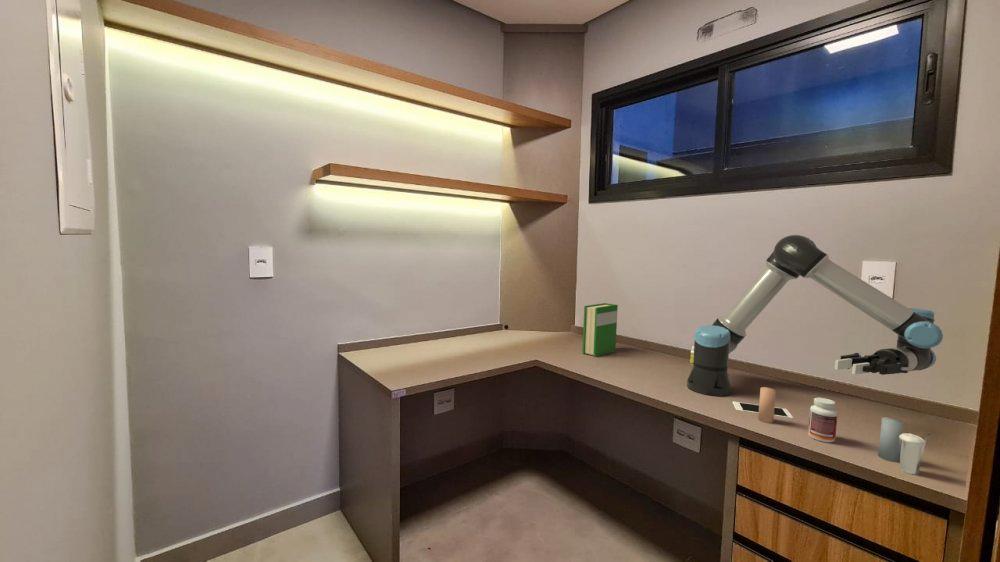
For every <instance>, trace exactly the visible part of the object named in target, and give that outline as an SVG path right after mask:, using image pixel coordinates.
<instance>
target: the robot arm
mask: <svg viewBox="0 0 1000 562" xmlns="http://www.w3.org/2000/svg"><path fill="white" fill-rule="evenodd" d="M765 265H766V266H765V268H763V270H762V272H761V273H760V274H758V276H757V277H756V278H755V280H754V281H752V283H751V284H750V286H749V287H747V289H746V290H745V291H744V292H743V294H742V295H741V296H740V297H739V299H738V300H737V301H736V302H735V303H734V305H733V306H732V307H731V308H730V309H729V311H728V312H726V313H725V315H723V316H718V317H717V318H716V320H715V321H714V322H713V323H712V324H711V325H709V324H708V325H701V326H699V327H697V328H696V329H695V332H694V333H695V334H694V343H693V344H694V345H693V346H694V359H693V366H692V368H691V370H690V372H689V375H688V376H687V380H686V388H688V389H689V390H691V391H693V392H696V393H699V394H703V395H707V396H715V397H724V396H730V395H731V394H732V392H733V391H732V388H733V386H732V383H731V379H730V376H729V372H728V367H729V355H730V354H731V352H733V351H734V350H736V349H737V347H738V345H739V344H740V343H742V341H743V340H744V339H745V337H746V336H747V334H746V330H747V328H748V327H749V326H750V325H751V324H752V323H753V321H754V320H755V319H756V318H758V316H759V315H760V314H761V313H762V312H763V310H765V308H766V307H767V306H768V305H769V304H770V303H771V302H772V300H773V299H774V298H775V297H776V296H777V295H778V294H779V292H780V291H781V290H783V288H784V286H785V285H787V283H788V282H789V281H791V280H797V279H798V278H799V277H800V276H801V277H802V278H804V279H811V280H813V281H815V282H816V283H818V284H819V285H821V286H822V287H824V288H825V289H827V290H829V291H830V292H831V293H833V294H835V295H836V296H838V297H839V298H841V299H843V300H844V301H845V302H847V303H848V304H850V305H852V306H853V307H854V308H857V309H858V310H859V311H861V312H863V313H864V314H866V315H867V316H869V317H870V318H871V319H874V320H875V321H877V322H878V323H880V324H881V325H883V326H884V327H886V328H888V329H889V330H891V331H892V332H893V333H894V334H897V340H896V347H891V348H882V349H879V350H876V351H875V352H874V353H873V354H869V355H864V356H862V354H860V353H858V352H854V353H851V354H845V355H840V359H836V360H835V361H834V370H837V371H838V370H839V371H840V370H850V369H851V368H852V369H851V374H852V375H861V374H867V373H872V374H877V373H879V374H880V375H881V376H884V375H895V374H896V375H897V374H908V373H909V372H914V371H915V372H916V371H922V370H926V369H929V368H931V367H933V366H934V365H935V364H936V361H937V357H936V354H935V352H934V350H932V348H935V347H937V346H939V345H940V343H942V342H943V337H944V335H943V334H944V333H943V331H942V329H941V328H940V327H939V326H938V325H936V324H935V323H934V322H935V312H934V311H933V310H930V309H929V310H928V309H924V308H912V307H911V308H910V307H907V306H905V305H904V304H902V303H900V302H899V301H897V300H896V299H894V298H892V297H891V296H889V295H887V294H886V293H884V292H883V291H881V290H880V289H878V288H876V287H874V286H873V285H871V284H870V283H868V282H867V281H865V280H863V279H861V278H859V277H858V276H856V275H855V274H853V273H851V272H850V271H848V270H846V269H845V268H844V267H842V266H840V265H839V264H837V263H835V262H834V261H832V260H830V259H829V255H828V253H826V252H824V251H823V250H821V249H820V248H818V247H817V245H816V243H815V242H814V241H813V240H811V239H810V238H809V237H807V236H804V235H799V234H792V235H787V236H785V237H783V238H781V239H780V240H778V241H777V243H776V244H775V245H774V248H773V251H772V253H771V254H770V255H769V256H768V257H767V258H766V260H765Z"/></svg>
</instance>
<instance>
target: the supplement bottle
mask: <svg viewBox="0 0 1000 562" xmlns="http://www.w3.org/2000/svg"><path fill="white" fill-rule="evenodd" d="M693 359H694V345H692V346H691V350H690V357H689V365H690V366H692V367H693Z"/></svg>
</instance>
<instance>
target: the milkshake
mask: <svg viewBox="0 0 1000 562" xmlns="http://www.w3.org/2000/svg"><path fill="white" fill-rule="evenodd" d="M930 436H931V434H930V433H928V435H927V436H926V437H925V438H924V439H923V437H920V436H919V435H917V434H916V435H915V434H913V433H910V432H909V433H906V432H905V433H903V432H902V434H901V435H900V436H899V445H900V460H899V470H901V471H902V472H904V473H907V474H909V475H910V474H911V475H919V472H920V468H921V463H922V459H923V455H924V451H925V448H926V443H927V442H926V441H927V440H928V438H929V437H930Z"/></svg>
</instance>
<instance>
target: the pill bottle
mask: <svg viewBox="0 0 1000 562" xmlns="http://www.w3.org/2000/svg"><path fill="white" fill-rule="evenodd" d="M835 407H836V401H834V400H831V399H829V398H825V397H815V398H813V405H811V406H810V407H809V417H808V426H807V427H808V429H807V435H808V436H809V438H812V439H813V440H816V441H818V442H823V443H834V442H835V441H836V436H837V435H836V434H837V426H838V414H839V413H838V411H837V410H836V409H835Z"/></svg>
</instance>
